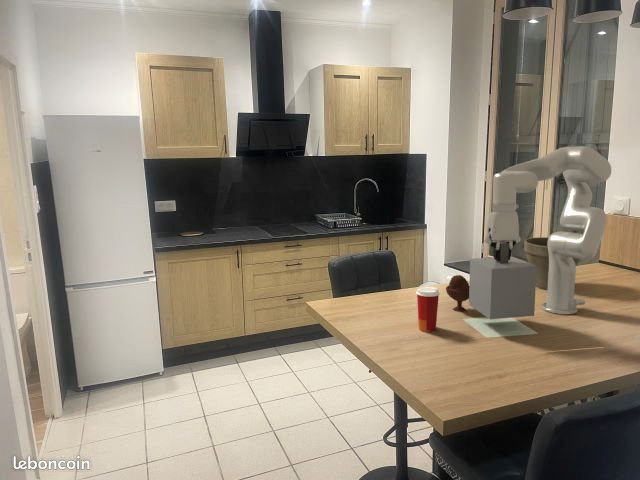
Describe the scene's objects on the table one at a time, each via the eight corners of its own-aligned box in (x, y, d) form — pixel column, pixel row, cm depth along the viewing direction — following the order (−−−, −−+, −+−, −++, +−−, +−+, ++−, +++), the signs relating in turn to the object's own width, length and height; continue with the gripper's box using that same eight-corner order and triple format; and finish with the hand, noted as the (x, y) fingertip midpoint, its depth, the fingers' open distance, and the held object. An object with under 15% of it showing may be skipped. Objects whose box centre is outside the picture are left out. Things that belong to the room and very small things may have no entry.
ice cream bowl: (475, 315, 178) (476, 278, 176) (446, 314, 180) (446, 277, 178) (472, 307, 188) (473, 271, 186) (444, 306, 191) (445, 271, 188)
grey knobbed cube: (509, 301, 174) (511, 237, 169) (534, 315, 158) (537, 245, 153) (469, 304, 172) (470, 240, 167) (490, 319, 156) (492, 248, 151)
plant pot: (592, 293, 202) (596, 245, 198) (536, 294, 203) (539, 247, 199) (563, 279, 227) (566, 236, 223) (513, 280, 227) (515, 237, 223)
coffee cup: (439, 326, 168) (440, 287, 165) (437, 334, 160) (438, 293, 158) (416, 324, 171) (417, 285, 168) (413, 332, 163) (414, 291, 160)
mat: (509, 316, 176) (509, 315, 176) (538, 334, 157) (538, 333, 157) (462, 319, 174) (462, 318, 174) (486, 338, 155) (486, 337, 155)
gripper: (519, 206, 163) (517, 256, 166) (476, 208, 161) (475, 259, 164) (532, 208, 155) (529, 260, 159) (486, 210, 154) (485, 263, 157)
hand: (502, 259), depth 161 cm, fingers closed on grey knobbed cube, 3 cm apart
